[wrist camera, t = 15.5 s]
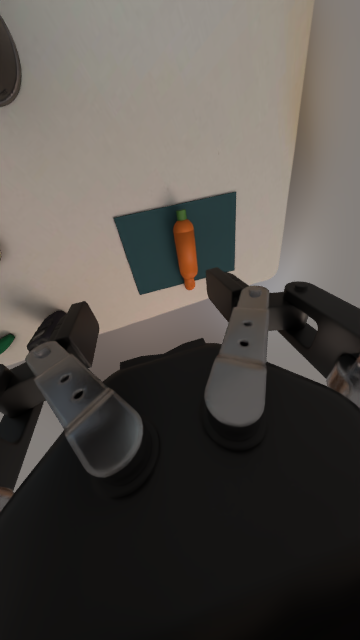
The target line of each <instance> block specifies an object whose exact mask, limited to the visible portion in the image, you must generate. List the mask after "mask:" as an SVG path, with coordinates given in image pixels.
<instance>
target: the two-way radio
mask: <svg viewBox="0 0 360 640" xmlns="http://www.w3.org/2000/svg"><path fill="white" fill-rule="evenodd" d="M65 314H66V313H65V312H63V311H56V312H54V313H53V314H51V315H49V316H48V317H47V318H46V319H45V320H44V321H43V322H42V324H41V325H40V327H38V330H37V331H36V332H35V334H34V336H33V337H32V339H31V340H30V342H29V343H28V345H27V349H28V350H29V352H30V351H31V350H33V349H34V348H35V347H37V346H39V345H40V344H43V343H45V342H48V340H49V339H50V337H51V335H52V333H53V331H54V330H55V328H56V326H57V324H58V322H59V320H60V319H61V318H62V317H63V316H64V315H65Z"/></svg>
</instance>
